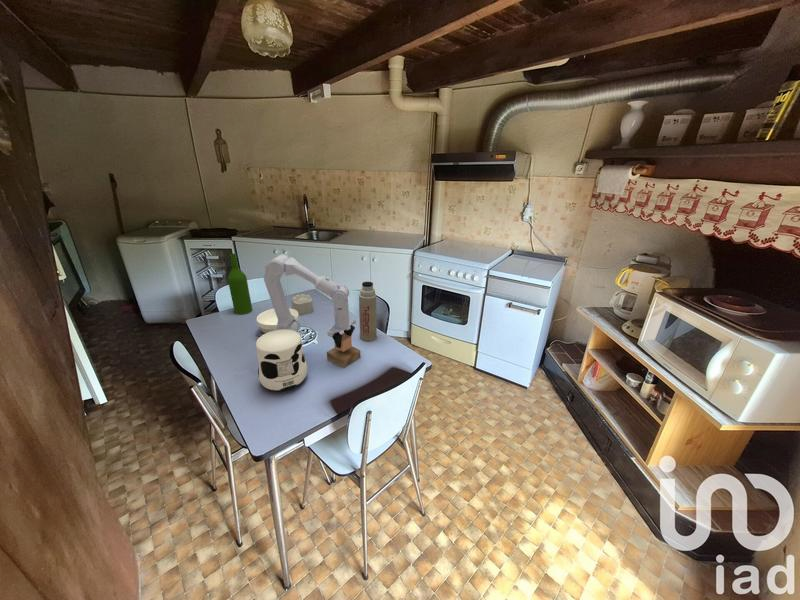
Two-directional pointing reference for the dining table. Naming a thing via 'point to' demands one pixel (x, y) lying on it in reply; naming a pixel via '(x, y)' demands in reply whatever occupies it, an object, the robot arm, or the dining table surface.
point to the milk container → (281, 360)
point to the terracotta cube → (345, 343)
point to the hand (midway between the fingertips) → (343, 344)
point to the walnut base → (343, 356)
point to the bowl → (271, 320)
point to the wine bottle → (239, 288)
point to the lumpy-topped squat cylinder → (302, 304)
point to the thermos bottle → (367, 312)
